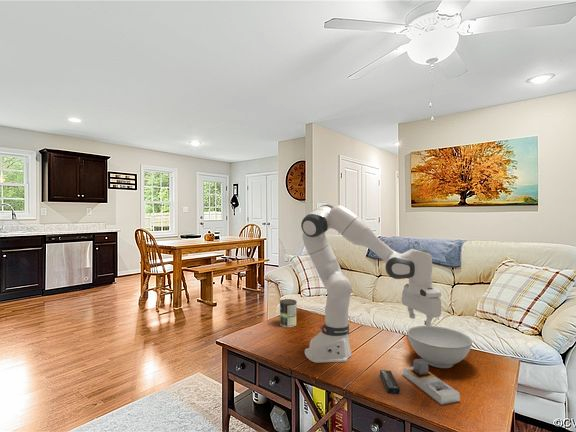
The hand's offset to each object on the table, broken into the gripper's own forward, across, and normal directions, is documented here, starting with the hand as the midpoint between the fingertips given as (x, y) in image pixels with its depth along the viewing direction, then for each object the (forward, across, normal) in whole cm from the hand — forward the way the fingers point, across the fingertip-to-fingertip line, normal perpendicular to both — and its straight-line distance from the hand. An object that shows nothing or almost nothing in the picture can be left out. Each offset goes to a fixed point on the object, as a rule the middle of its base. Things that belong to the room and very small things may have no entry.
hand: (419, 321), depth 134 cm
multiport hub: (+24, 0, -14) cm, 28 cm away
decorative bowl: (+24, -10, +19) cm, 32 cm away
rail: (+23, +7, 0) cm, 24 cm away
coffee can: (+24, -77, -34) cm, 88 cm away
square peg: (+23, +2, 0) cm, 23 cm away
